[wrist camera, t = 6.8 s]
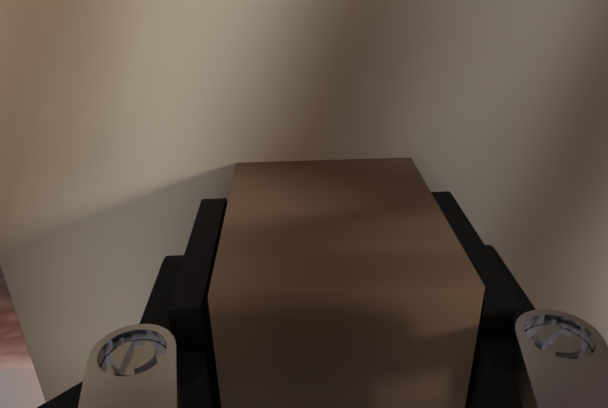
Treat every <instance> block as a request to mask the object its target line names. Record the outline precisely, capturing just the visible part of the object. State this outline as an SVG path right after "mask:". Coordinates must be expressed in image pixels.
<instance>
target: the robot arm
mask: <svg viewBox="0 0 608 408" xmlns="http://www.w3.org/2000/svg"><path fill="white" fill-rule="evenodd" d="M431 193H432V195H433V197H434V198H435V200H436V202H437V204H438V205H439V207H440V209H441V211H442V212H443V214H444V216H445V218H446V219H447V221H448V223H449V225H450V226H451V228H452V230H453V232H454V233H455V235H456V237H457V239H458V240H459V242H460V244H461V246H462V247H463V249H464V251H465V253H466V254H467V256H468V258H469V260H470V261H471V263H472V265H473V266H474V268H475V270H476V272H477V273H478V275H479V277H480V279H481V280H482V282H483V284H484V286H485V291H484V297H483V303H482V309H481V315H480V321H479V327H478V333H477V339H476V345H475V351H474V357H473V363H472V369H471V374H470V380H469V386H468V392H467V398H466V404H465V408H608V345H607V343H606V341H605V339H604V338H603V337H602V335H601V334H600V333H599V331H598V330H597V329H595V328H594V327H593V326H592V325H590V324H589V323H588V322H586V321H584V320H582V319H580V318H579V317H577V316H574V315H571V314H568V313H565V312H562V311H557V310H551V309H535V307H534V306H533V305H532V303H531V302H530V300H529V299H528V297H527V296H526V294H525V293H524V291H523V290H522V288H521V287H520V285H519V284H518V282H517V281H516V279H515V278H514V276H513V275H512V273H511V272H510V270H509V269H508V267H507V266H506V264H505V263H504V261H503V260H502V258H501V257H500V255H499V254H498V252H497V251H496V250H495V248H494V247H493V246H492V245H485V244H484V243H483V241H482V240H481V238H480V237H479V235H478V234H477V232H476V231H475V229H474V228H473V226H472V224H471V223H470V221H469V220H468V218H467V217H466V215H465V214H464V212H463V211H462V209H461V207H460V206H459V204H458V203H457V201H456V200H455V198H454V197H453V195H452V194H451V192H450V191H443V192H431ZM227 203H228V202H227V199H226V198H219V199H202V200H201V203H200V206H199V209H198V212H197V215H196V219H195V222H194V225H193V228H192V231H191V235H190V238H189V241H188V244H187V247H186V251H185V254H184V255H171V256H165V258H164V259H163V262H162V264H161V267H160V270H159V273H158V275H157V278H156V281H155V283H154V286H153V289H152V291H151V294H150V297H149V299H148V302H147V305H146V307H145V310H144V313H143V315H142V318H141V321H140V323H139V324H134V325H130V326H126V327H122V328H120V329H117V330H115V331H113V332H111V333H109V334H108V335H106V336H105V337H103V338H102V339H101V340H99V341H98V342H97V344H96V345H95V346H94V347H93V348H92V349H91V352H90V354H89V356H88V359H87V364H86V369H85V374H84V379H83V381H82V382H80V383H78V384H77V385H75V386H73V387H72V388H70V389H68V390H66V391H65V392H63V393H61V394H60V395H58V396H56V397H55V398H53V399H51V400H49V401H48V402H46V403H44V404H43V405H41V406H39V407H38V408H221V400H220V392H219V384H218V376H217V368H216V360H215V352H214V344H213V336H212V328H211V320H210V312H209V304H208V292H209V288H210V283H211V278H212V273H213V269H214V264H215V259H216V255H217V250H218V245H219V241H220V236H221V231H222V226H223V222H224V217H225V212H226V208H227Z"/></svg>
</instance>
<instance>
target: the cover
mask: <svg viewBox="0 0 608 408" xmlns="http://www.w3.org/2000/svg"><path fill="white" fill-rule="evenodd" d="M443 191H450V192H451V194H452V195H453V197H454V198H455V200H456V201H457V203H458V204H459V206H460V207H461V209H462V211H463V212H464V214H465V215H466V217H467V218H468V220H469V221H470V223H471V224H472V226H473V228H474V229H475V231H476V232H477V234H478V235H479V237H480V238H481V240H482V241H483V243H484V244H485V245H492V246H493V247H494V248H495V250H496V251H497V252H498V254H499V255H500V257H501V258H502V260H503V261H504V263H505V264H506V266H507V267H508V269H509V270H510V272H511V273H512V275H513V276H514V278H515V279H516V281H517V282H518V284H519V285H520V287H521V288H522V290H523V291H524V293H525V294H526V296H527V297H528V299H529V300H530V302H531V303H532V305H533V306H534V307H535V309H551V310H557V311H562V312H565V313H568V314H571V315H574V316H577V317H579V318H580V319H582V320H584V321H586V322H588V323H589V324H590V325H592V326H593V327H594V328H595V329H597V330H598V331H599V333H600V334H601V335H602V337H603V338H604V339H605V341H606V343H607V345H608V0H0V266H1V269H2V272H3V275H4V278H5V281H6V284H7V287H8V290H9V293H10V296H11V299H12V302H13V305H14V308H15V311H16V314H17V317H18V320H19V323H20V326H21V329H22V332H23V335H24V338H25V341H26V344H27V347H28V350H29V353H30V356H31V359H32V362H33V365H34V368H35V371H36V374H37V376H38V380H39V382H40V386H41V389H42V392H43V394H44V398H45V400H46V402H48V401H49V400H51V399H53V398H55V397H56V396H58V395H60V394H61V393H63V392H65V391H66V390H68V389H70V388H72V387H73V386H75V385H77V384H78V383H80V382H82V381H83V379H84V374H85V369H86V364H87V359H88V356H89V354H90V352H91V349H92V348H93V347H94V346H95V345H96V344H97V342H98V341H99V340H101V339H102V338H103V337H105V336H106V335H108V334H109V333H111V332H113V331H115V330H117V329H120V328H122V327H126V326H130V325H134V324H139V323H140V321H141V318H142V315H143V313H144V310H145V307H146V305H147V302H148V299H149V297H150V294H151V291H152V289H153V286H154V283H155V281H156V278H157V275H158V273H159V270H160V267H161V264H162V262H163V259H164V258H165V256H171V255H184V254H185V251H186V247H187V244H188V241H189V238H190V235H191V231H192V228H193V225H194V222H195V219H196V215H197V212H198V209H199V206H200V203H201V200H202V199H219V198H226V199H227V202H228V203H227V208H226V212H225V217H224V222H223V226H222V231H221V236H220V241H219V245H218V250H217V255H216V259H215V264H214V269H213V273H212V278H211V283H210V288H209V292H208V304H209V312H210V320H211V328H212V336H213V344H214V352H215V360H216V368H217V376H218V384H219V392H220V400H221V408H465V404H466V398H467V392H468V386H469V380H470V374H471V369H472V363H473V357H474V351H475V345H476V339H477V333H478V327H479V321H480V315H481V309H482V303H483V297H484V291H485V286H484V284H483V282H482V280H481V279H480V277H479V275H478V273H477V272H476V270H475V268H474V266H473V265H472V263H471V261H470V260H469V258H468V256H467V254H466V253H465V251H464V249H463V247H462V246H461V244H460V242H459V240H458V239H457V237H456V235H455V233H454V232H453V230H452V228H451V226H450V225H449V223H448V221H447V219H446V218H445V216H444V214H443V212H442V211H441V209H440V207H439V205H438V204H437V202H436V200H435V198H434V197H433V195H432V193H431V192H443Z"/></svg>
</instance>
